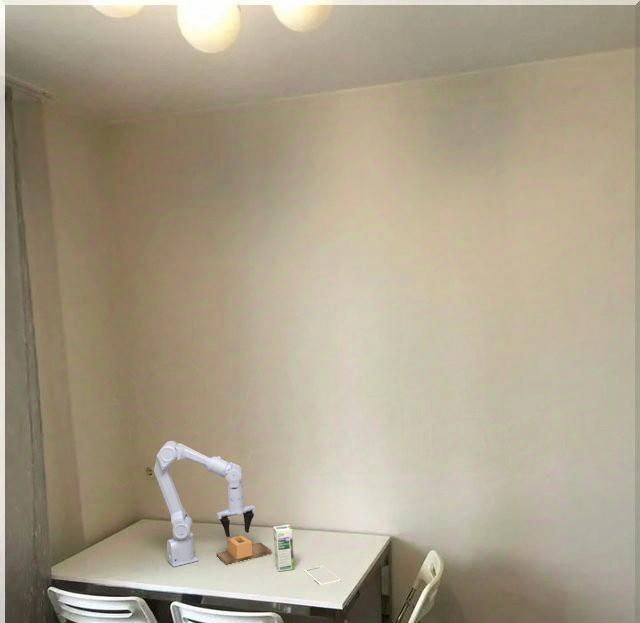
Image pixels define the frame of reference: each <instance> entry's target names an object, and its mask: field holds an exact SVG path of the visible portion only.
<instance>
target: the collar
mask: <svg viewBox="0 0 640 623" xmlns="http://www.w3.org/2000/svg"><path fill="white" fill-rule="evenodd" d="M237 541H240V542H242V543H239V542H237ZM252 544H253V542H252V541H251V540H250V539H249V538H247V537H246V536H244V535H243V534H241V535H236V536H233V537H227V550H228V552H229V553H230V554H231V555H233V556H234V557H235V558H237V559H240V558H244V557H248V556H252Z"/></svg>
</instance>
